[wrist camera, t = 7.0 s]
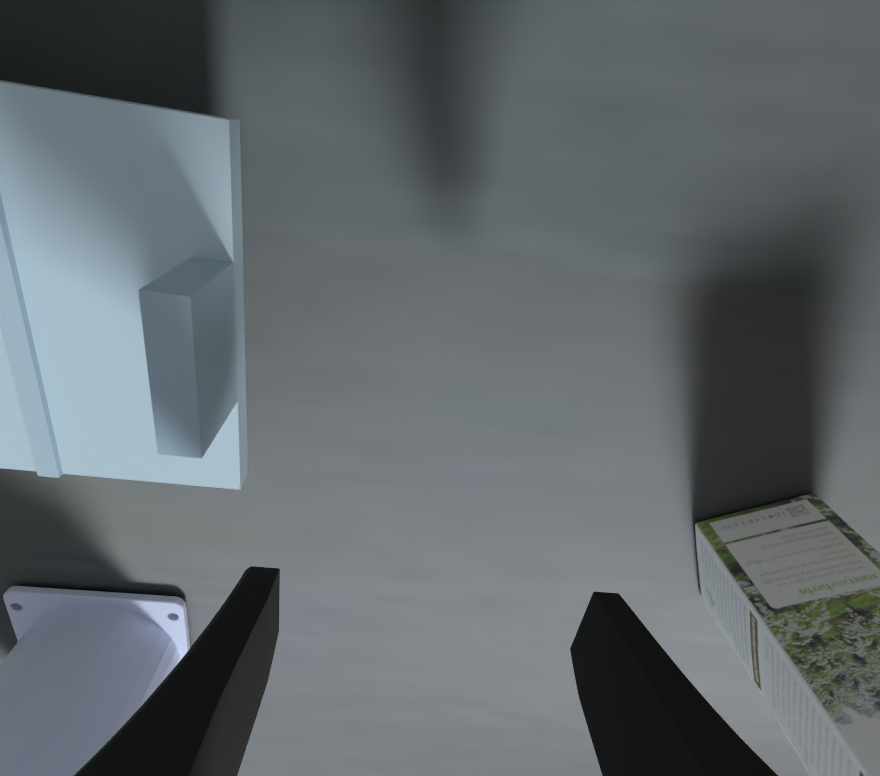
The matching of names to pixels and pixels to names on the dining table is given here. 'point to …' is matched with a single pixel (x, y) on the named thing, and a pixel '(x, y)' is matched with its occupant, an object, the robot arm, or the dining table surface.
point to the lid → (120, 290)
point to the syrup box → (802, 624)
